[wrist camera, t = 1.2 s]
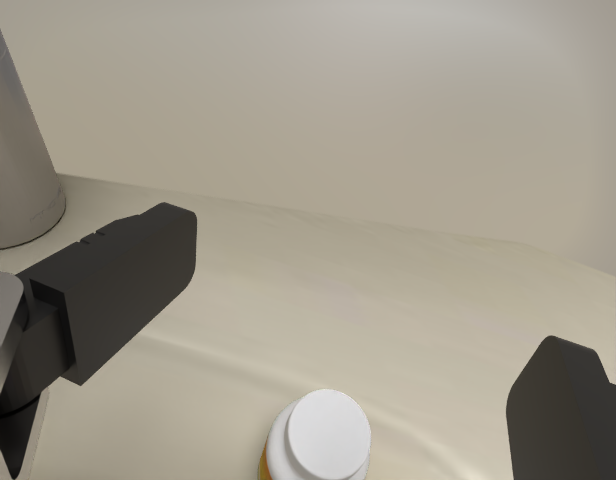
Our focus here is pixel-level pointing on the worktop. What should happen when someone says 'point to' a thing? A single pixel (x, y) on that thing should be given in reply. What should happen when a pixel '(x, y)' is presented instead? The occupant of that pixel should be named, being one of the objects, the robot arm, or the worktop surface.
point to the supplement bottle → (318, 440)
